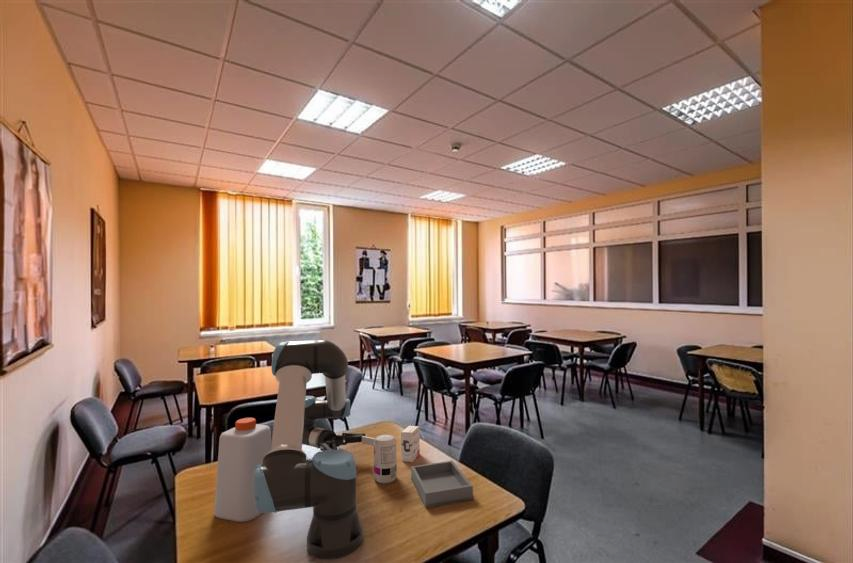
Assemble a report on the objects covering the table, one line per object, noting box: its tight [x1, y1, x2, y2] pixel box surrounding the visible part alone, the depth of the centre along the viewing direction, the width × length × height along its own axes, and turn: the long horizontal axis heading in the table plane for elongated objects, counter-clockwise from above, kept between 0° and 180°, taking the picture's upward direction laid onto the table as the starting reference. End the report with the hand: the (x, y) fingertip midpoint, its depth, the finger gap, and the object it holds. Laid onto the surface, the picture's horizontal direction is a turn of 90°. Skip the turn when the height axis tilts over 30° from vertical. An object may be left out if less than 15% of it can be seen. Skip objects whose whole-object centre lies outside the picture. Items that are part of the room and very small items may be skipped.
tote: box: [410, 460, 474, 509], centre depth 133 cm, size 20×16×4 cm
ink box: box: [400, 425, 421, 463], centre depth 159 cm, size 8×5×12 cm, turn 160°
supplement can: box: [373, 433, 398, 484], centre depth 141 cm, size 8×8×15 cm
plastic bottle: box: [213, 417, 272, 523], centre depth 123 cm, size 15×15×28 cm
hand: (364, 448), depth 146 cm, fingers open, 13 cm apart
